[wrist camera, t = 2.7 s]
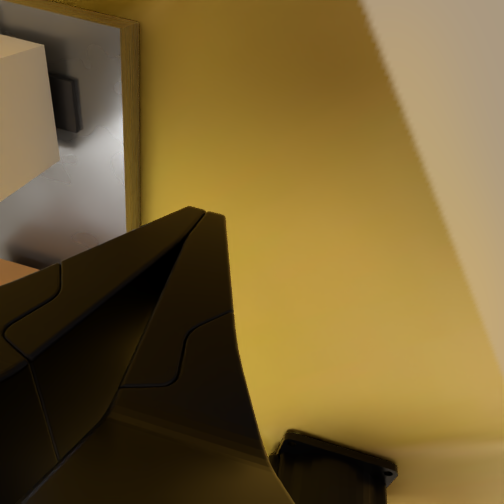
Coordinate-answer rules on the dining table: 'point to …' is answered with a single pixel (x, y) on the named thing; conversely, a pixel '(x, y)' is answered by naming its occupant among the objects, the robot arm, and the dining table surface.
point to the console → (78, 135)
